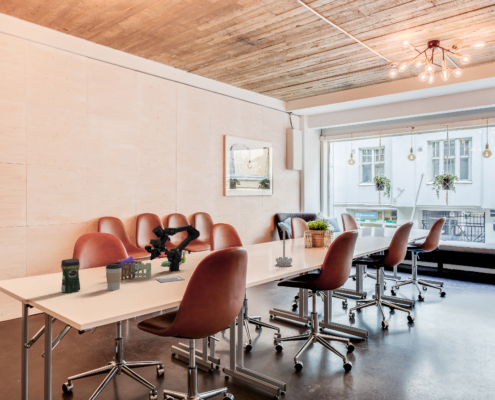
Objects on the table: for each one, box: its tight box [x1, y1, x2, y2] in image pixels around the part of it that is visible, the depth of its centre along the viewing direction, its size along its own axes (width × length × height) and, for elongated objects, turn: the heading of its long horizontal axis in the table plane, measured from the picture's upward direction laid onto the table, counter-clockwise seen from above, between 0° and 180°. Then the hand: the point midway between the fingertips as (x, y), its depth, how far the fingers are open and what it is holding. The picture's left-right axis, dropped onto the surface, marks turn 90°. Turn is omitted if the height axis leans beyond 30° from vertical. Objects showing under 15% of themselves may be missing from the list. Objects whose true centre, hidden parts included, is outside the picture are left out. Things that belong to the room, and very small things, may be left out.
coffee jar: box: [60, 258, 81, 294], centre depth 220 cm, size 10×8×19 cm
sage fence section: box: [131, 262, 152, 279], centre depth 254 cm, size 12×2×10 cm, turn 90°
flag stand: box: [275, 226, 293, 267], centre depth 303 cm, size 13×13×30 cm
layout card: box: [155, 275, 185, 284], centre depth 251 cm, size 16×11×1 cm
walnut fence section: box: [121, 263, 132, 281], centre depth 250 cm, size 11×2×10 cm, turn 120°
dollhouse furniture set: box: [160, 246, 187, 267], centre depth 309 cm, size 14×29×11 cm, turn 175°
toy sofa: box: [117, 255, 143, 274], centre depth 274 cm, size 21×9×10 cm, turn 170°
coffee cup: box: [105, 261, 122, 291], centre depth 226 cm, size 9×9×15 cm
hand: (150, 260), depth 261 cm, fingers closed
